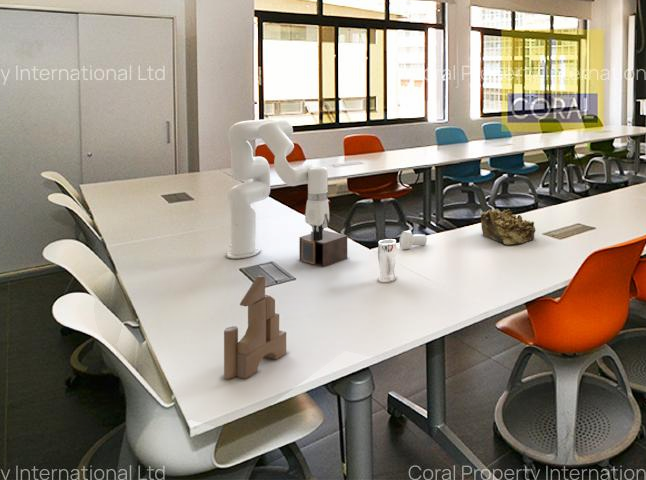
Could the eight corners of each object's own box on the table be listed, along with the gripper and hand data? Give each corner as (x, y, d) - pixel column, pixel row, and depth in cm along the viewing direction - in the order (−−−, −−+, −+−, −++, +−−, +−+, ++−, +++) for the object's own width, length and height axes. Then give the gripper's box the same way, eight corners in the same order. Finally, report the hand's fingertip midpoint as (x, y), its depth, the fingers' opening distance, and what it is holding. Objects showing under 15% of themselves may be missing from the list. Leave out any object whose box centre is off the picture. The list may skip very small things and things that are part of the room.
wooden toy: (268, 349, 156) (268, 265, 156) (286, 353, 154) (286, 267, 154) (221, 378, 141) (221, 285, 141) (240, 382, 139) (240, 288, 139)
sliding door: (313, 264, 223) (313, 232, 223) (301, 261, 227) (301, 229, 227) (315, 263, 224) (315, 231, 224) (303, 260, 228) (303, 228, 228)
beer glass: (400, 277, 211) (400, 240, 211) (389, 284, 205) (389, 245, 204) (385, 275, 213) (385, 238, 213) (374, 281, 207) (374, 243, 207)
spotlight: (396, 244, 247) (401, 228, 247) (418, 244, 254) (423, 228, 254) (403, 252, 241) (408, 235, 241) (425, 252, 248) (430, 235, 248)
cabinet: (323, 267, 222) (323, 243, 222) (299, 260, 230) (299, 237, 230) (347, 258, 232) (347, 235, 232) (323, 252, 240) (323, 230, 240)
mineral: (544, 235, 267) (544, 205, 267) (514, 248, 246) (515, 216, 246) (501, 226, 282) (501, 198, 282) (470, 238, 261) (470, 208, 261)
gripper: (298, 196, 223) (298, 239, 223) (321, 200, 215) (321, 245, 215) (314, 192, 229) (314, 235, 229) (337, 197, 222) (337, 240, 222)
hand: (318, 240), depth 222 cm, fingers closed
